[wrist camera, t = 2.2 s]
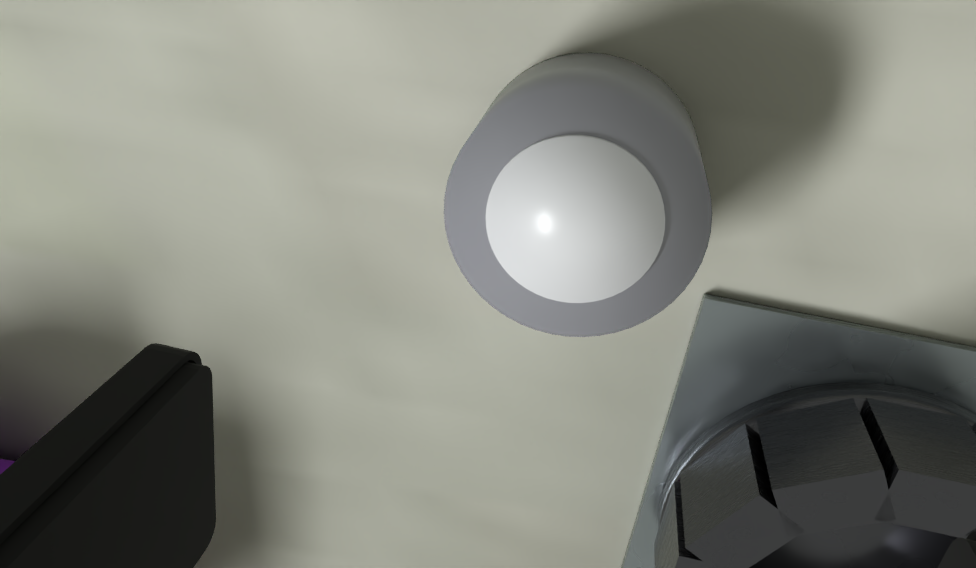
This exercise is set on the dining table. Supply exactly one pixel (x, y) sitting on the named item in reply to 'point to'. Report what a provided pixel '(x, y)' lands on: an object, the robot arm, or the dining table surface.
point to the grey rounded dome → (580, 198)
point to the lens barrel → (810, 447)
